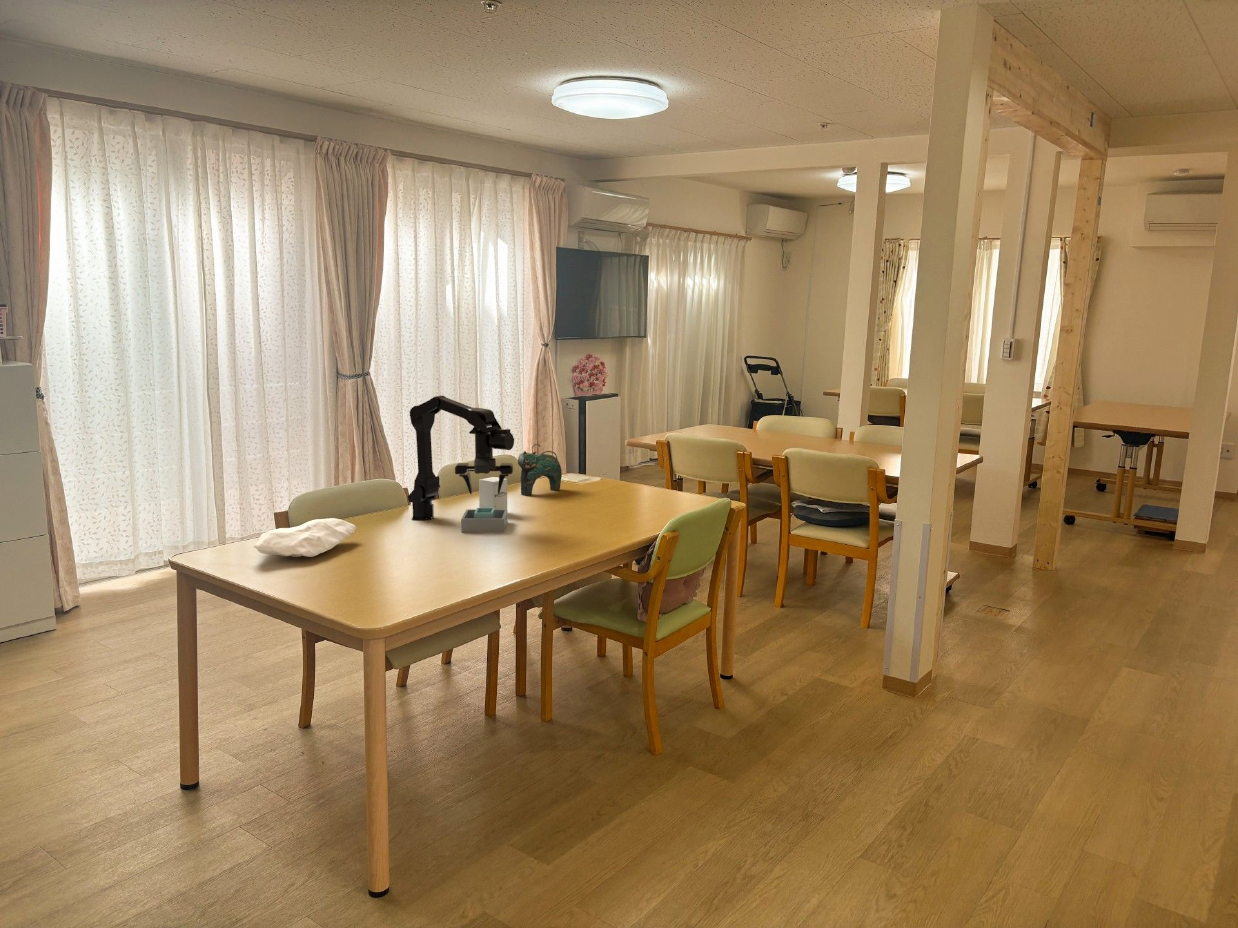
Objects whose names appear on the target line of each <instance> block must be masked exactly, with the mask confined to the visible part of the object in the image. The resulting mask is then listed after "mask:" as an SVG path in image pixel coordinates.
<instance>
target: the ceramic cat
mask: <svg viewBox="0 0 1238 928" xmlns="http://www.w3.org/2000/svg"><path fill="white" fill-rule="evenodd" d="M535 446H538V447H539V448H540V447H541V445H540V444H538V443H535V444H533V445H532V447H531V451H532V452H526V450H524V451H523V452H521V453H520V454H519V455H518V458H517V464H518V466H519V468H520V469H521V472H520V495H521V496H524V497H529V496H532V494H533V489H534V485H535V483H536V481H537V480H538V478H541V477H546V478H547V479H548V481H549V482H548V483H549V489H550V491H553V492H558V491H560V490H561V483H562V476H563V473H562V466H561V464H560V462H559V459H558V456H557V454H556V453H555V452H554V451H551V450H546V451H543V452H542V453H541V452H540V453H539V454H538V453H537V451H534V450H533V449H534V447H535ZM536 453H537V454H536ZM547 453H552V454H554V455H552V454H547Z"/></svg>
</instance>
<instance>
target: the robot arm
mask: <svg viewBox="0 0 1238 928" xmlns="http://www.w3.org/2000/svg"><path fill="white" fill-rule="evenodd" d="M441 411H444V412H446V413H449V414H451V415H454V416H456V417H459V418H462V419H464V420H466V422H467V423H468V424H469V425H471V426H472V427H473V428H472V429H470V431H469V432H468V433H469V434H470V435H474V449H475V450H474V451H475V453H474V454H475V455H474V456H475V458H474V461H473V462H474V463H473V465H470V464H469V462H459V463H457V464H456V465H455V466H454V474H455V475H458V477H461V478H462V479H463V480H464V482H465V484H466V486H467V490H468V491H469V495H472V494H473V491H472V490H473V487H472V480H471V472H474V474H478V475H479V474H485V475H487V474H489V473H491V472H499V475H498V478H499V484H498V494H499V493H500V490H501V486H502V483H503V480H504V479H506V477H509V475H512V474H513V472H514V465H513V463H512V462H501V464H500V465H497V463H496V461H497V460H496V458H495V457H494V456H493V455H494V453H493V452H494V450H503V451H511V450H513V448H514V445H515V438H514V435H513V433H512V432H511V429H509V428H505V429H504V428H502V426H501V425H500V423H499V421H498V420H497V418H496V416H495V413H494V412H493V410H491V409H488V408H482V407H474V406H473V407H472V406H469V405H467V404H464V403H462V402H458V401H456V400H453V399H451V398H449V397H446V396H445V395H435V396H433V397H432V398H430V399H428V400H427V401H423V403H421V404H418V405H414V406H412V407H411V408H410V410H409V418H410V423H411V426H412V427H413V428H414V430H415V436H416V437H415V438H416V454H417V455H416V457H417V474H416V477H415V479H414V481H413V482H414V483H413V490H412V491H411V492H410V493H409V495H407V500H408V503H411V504H412V517H411V520H412V521H415V520H416V521H417V520H418V521H419V520H420V521H421V520H422V521H423V520H424V521H425V520H428V521H429V520H431V519H432V518H433V517H434V516H435V515H434V514H435V510H434V509H435V506H434V503H433V500H435V499H436V496H437V494H438V493H439V489H440V488H441V485H440V475H436V474H435V472H434V469H433V452H432V451H433V448H432V433H431V432H432V429H433V426H434V424H435V418H436V414H438V413H440V412H441Z"/></svg>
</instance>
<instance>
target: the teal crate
mask: <svg viewBox="0 0 1238 928" xmlns="http://www.w3.org/2000/svg"><path fill="white" fill-rule="evenodd" d="M475 509H476V511H475V513H474V519H487V518H495V508H479V507H476V508H475Z"/></svg>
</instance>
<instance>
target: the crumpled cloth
mask: <svg viewBox="0 0 1238 928" xmlns="http://www.w3.org/2000/svg"><path fill="white" fill-rule="evenodd" d="M355 531H356V525H355V524H353V523H351V522H348V521H346V520H344V519H339V518H336V517H335V518H334V517H333V518H332V517H330V518H321V519H320V518H319V519H317V518H316V519H313V520H309V521H306V522H304V523H303V524H301V525H298V526H297V525H296V526H293V527H280V528H276V529H271V530H269V531H266V532H264V533H261V534H260V537H259V538H258V541H257V542H256V543H255V544H254V546H253V548H254V549H255V550H257V552H259V553H260V554H264V555H270V556H271V555H272V556H273V555H275V556H278V555H279V556H282V557H290V556H291V557H293V558H299V557H309V558H310V557H311V558H313V557H315V556H318V555H319V554H322V553H324V552H326V551H328V550H331V549H333V548H335V546H337V545H339V544H340V543H341V542H342V541H344V539H346V538H348V537H349V536H351V535H353V534H354V532H355Z"/></svg>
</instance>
